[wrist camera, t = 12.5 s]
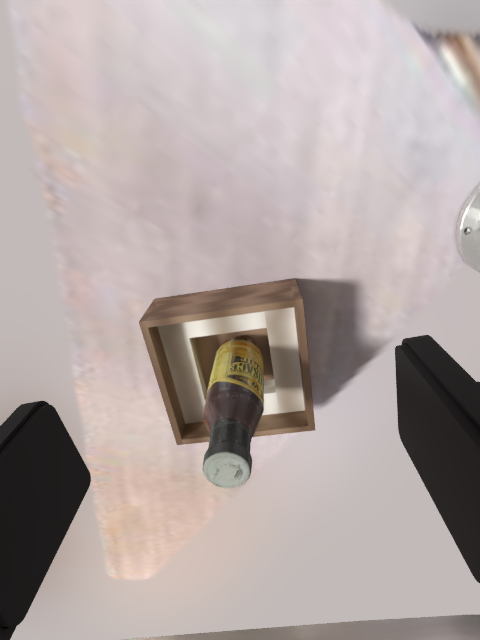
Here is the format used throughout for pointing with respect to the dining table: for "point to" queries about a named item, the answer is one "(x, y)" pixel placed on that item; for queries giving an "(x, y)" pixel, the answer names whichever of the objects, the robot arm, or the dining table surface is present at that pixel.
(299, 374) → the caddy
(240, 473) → the sauce bottle
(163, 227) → the dining table surface
